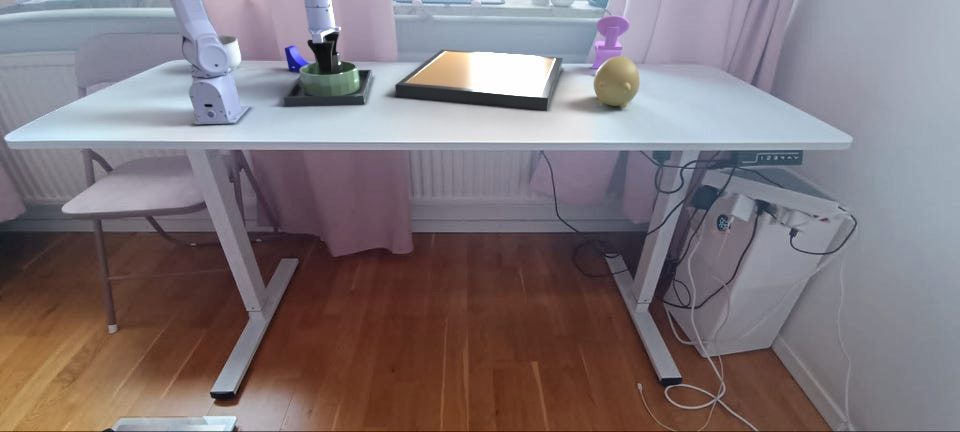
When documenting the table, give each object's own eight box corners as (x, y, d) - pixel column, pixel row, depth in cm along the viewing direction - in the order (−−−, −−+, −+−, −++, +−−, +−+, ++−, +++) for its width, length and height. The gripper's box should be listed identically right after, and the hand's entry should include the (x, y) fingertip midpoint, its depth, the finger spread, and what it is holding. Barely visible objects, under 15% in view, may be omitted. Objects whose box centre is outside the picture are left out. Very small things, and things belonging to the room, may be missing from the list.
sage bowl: (357, 98, 106) (354, 75, 103) (298, 100, 105) (293, 76, 102) (363, 81, 117) (360, 59, 114) (310, 83, 116) (305, 60, 113)
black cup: (340, 78, 107) (337, 56, 105) (315, 78, 107) (311, 56, 104) (343, 71, 112) (340, 50, 109) (320, 72, 111) (316, 50, 109)
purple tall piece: (617, 68, 131) (627, 11, 123) (622, 77, 123) (632, 17, 115) (587, 67, 131) (595, 10, 123) (590, 75, 124) (599, 16, 116)
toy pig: (631, 121, 106) (641, 81, 108) (636, 94, 95) (648, 50, 97) (588, 114, 109) (600, 75, 111) (588, 86, 97) (601, 43, 100)
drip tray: (364, 104, 103) (363, 95, 102) (285, 106, 102) (283, 97, 100) (372, 77, 121) (371, 69, 120) (305, 78, 119) (303, 70, 118)
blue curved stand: (337, 70, 126) (333, 47, 123) (327, 75, 122) (323, 51, 119) (299, 66, 129) (294, 44, 125) (289, 70, 125) (284, 48, 122)
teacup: (252, 65, 129) (244, 35, 125) (231, 76, 120) (222, 44, 116) (205, 63, 131) (196, 33, 126) (180, 74, 121) (170, 42, 117)
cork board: (442, 59, 137) (396, 96, 108) (441, 49, 135) (395, 84, 106) (561, 68, 130) (546, 110, 101) (562, 58, 128) (547, 98, 99)
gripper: (331, 11, 95) (342, 76, 103) (341, 0, 107) (350, 60, 115) (296, 11, 95) (309, 77, 102) (310, 0, 107) (321, 60, 114)
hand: (329, 68), depth 108 cm, fingers closed on black cup, 5 cm apart
